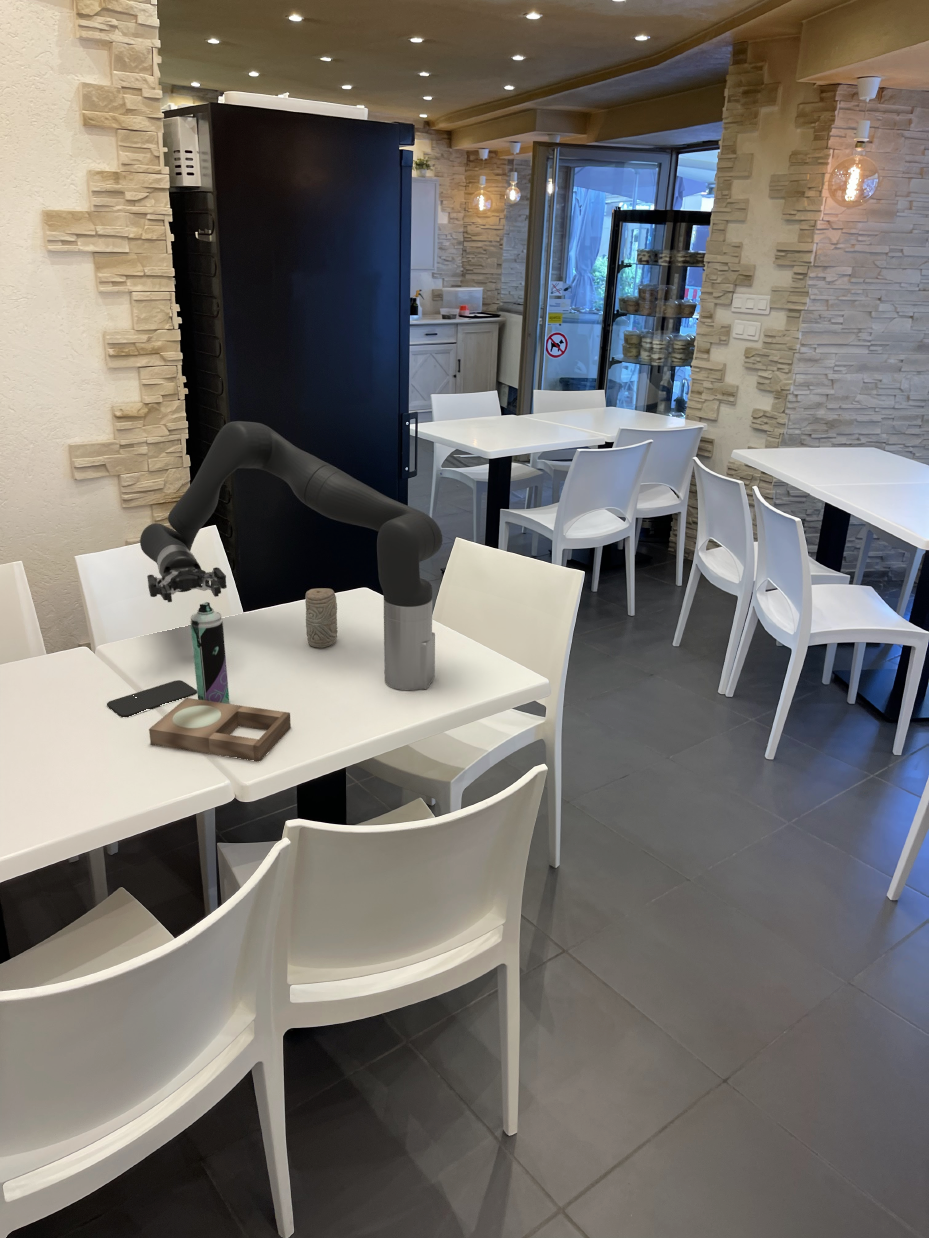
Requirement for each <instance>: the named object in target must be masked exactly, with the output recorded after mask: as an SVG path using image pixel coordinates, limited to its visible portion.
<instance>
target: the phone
mask: <svg viewBox="0 0 929 1238" xmlns="http://www.w3.org/2000/svg"><path fill="white" fill-rule="evenodd" d="M196 694H197V688H195V687H193V686H191V685H190V684H188V683H187V682H185V681H183V680H179V679H178V680H173V681H169V682H167V683H163V684H160V685H157V686H154V687H151V688H150V687H149V688H147V689H145V690H140V691H138V692H135V693H131V694H128V695H125V696H122V697H119V698H115V699H113V700H110V701H107V703H106V706H108V707H109V708H108V707H107V708H108V709H110V710H111V709H112V710H113V711H114V712H113V711H112V710H111V711H112V712H113V713H115V714H116V713H117V714H118V716H119V717H120V716H121V717H120V718H123V717H127V718H129V716H131V717H133V716H132V715H134V714H137V713H139V712H141V711H144V710H146V709H152V710H154V709H158V708H161V706H160V705H162V704H165V703H169V702H172V701H175V702H177V701H176V700H178V701H180V700H179V699H181V700H183V699H182V698H184V699H186V697H187V698H191V697H192V696H195V695H196ZM133 695H134V696H133ZM197 695H198V694H197ZM135 697H137V698H135ZM172 703H173V702H172ZM169 704H170V703H169ZM117 714H116V715H117ZM137 715H138V714H137ZM134 716H135V715H134Z"/></svg>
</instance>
